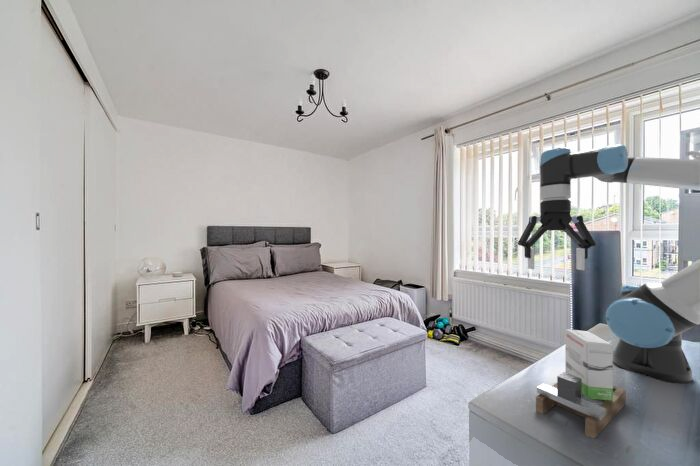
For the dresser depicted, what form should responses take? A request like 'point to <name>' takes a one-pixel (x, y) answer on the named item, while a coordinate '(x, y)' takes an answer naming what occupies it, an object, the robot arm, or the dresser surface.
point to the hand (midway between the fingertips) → (555, 269)
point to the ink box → (590, 363)
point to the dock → (591, 424)
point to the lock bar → (571, 395)
